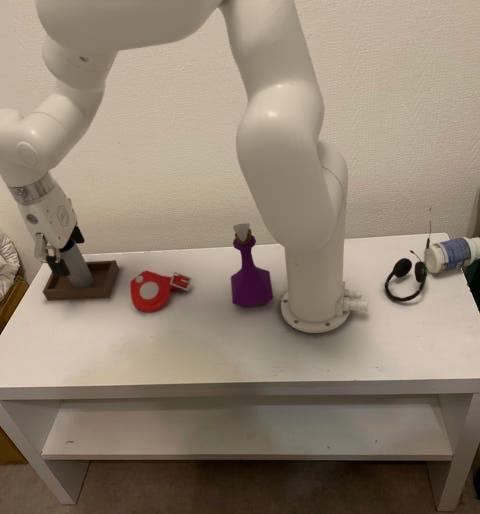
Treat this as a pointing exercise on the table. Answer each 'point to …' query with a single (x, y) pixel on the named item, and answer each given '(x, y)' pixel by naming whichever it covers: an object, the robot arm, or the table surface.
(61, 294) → the shelf tray
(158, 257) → the table surface
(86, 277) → the gray hollow tube
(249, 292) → the perfume bottle
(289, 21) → the robot arm
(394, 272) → the headset
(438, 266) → the pill bottle
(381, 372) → the table surface
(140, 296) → the tracker holder
